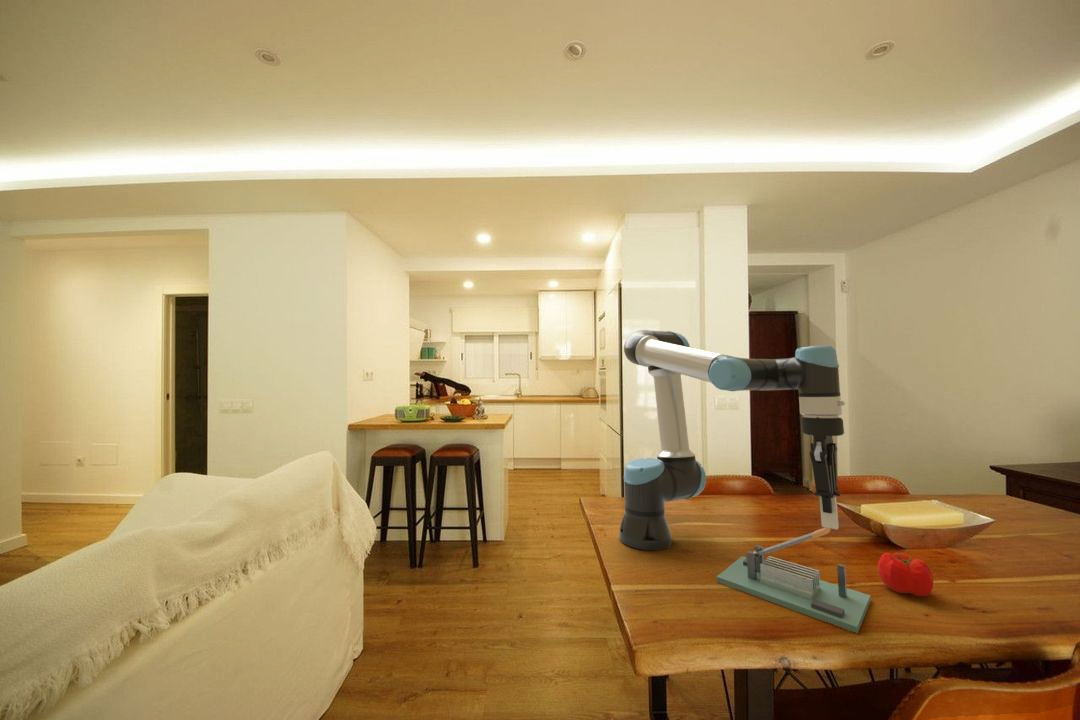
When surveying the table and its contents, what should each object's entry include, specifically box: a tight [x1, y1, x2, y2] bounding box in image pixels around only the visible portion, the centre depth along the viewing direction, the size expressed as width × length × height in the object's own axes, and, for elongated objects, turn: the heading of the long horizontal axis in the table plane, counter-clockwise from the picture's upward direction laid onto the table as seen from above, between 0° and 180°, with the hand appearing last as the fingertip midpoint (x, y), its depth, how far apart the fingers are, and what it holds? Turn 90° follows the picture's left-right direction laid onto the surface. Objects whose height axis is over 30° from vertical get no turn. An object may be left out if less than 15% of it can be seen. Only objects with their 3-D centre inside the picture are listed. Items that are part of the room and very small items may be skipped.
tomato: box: [877, 552, 934, 597], centre depth 87 cm, size 9×9×8 cm
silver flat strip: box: [753, 527, 831, 559], centre depth 88 cm, size 18×3×1 cm
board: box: [716, 555, 872, 634], centre depth 87 cm, size 26×16×2 cm, turn 43°
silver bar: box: [746, 544, 848, 600], centre depth 87 cm, size 17×8×6 cm, turn 43°
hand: (830, 527), depth 83 cm, fingers closed
